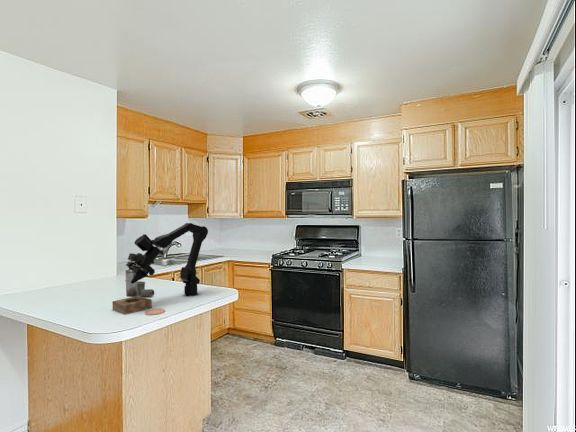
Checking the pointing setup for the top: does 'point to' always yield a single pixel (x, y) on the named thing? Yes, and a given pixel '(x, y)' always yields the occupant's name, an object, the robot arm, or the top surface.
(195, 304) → the top surface
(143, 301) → the housing
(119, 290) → the top surface
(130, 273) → the shiny metal cylinder
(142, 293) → the pipe
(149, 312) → the mat
